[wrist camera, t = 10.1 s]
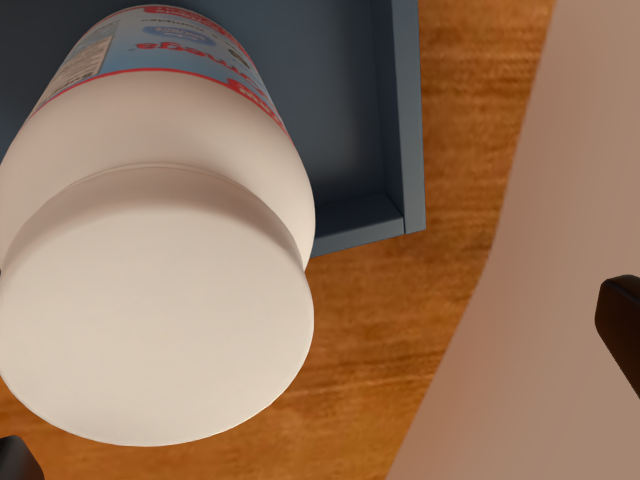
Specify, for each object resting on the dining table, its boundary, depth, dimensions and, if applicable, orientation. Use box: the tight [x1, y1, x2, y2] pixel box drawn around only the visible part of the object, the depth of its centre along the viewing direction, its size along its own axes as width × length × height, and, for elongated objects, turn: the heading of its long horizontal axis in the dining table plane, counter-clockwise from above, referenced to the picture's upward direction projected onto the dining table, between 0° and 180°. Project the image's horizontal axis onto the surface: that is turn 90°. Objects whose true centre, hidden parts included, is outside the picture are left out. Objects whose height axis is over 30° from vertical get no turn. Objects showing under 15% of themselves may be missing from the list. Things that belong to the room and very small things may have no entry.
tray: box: [0, 0, 426, 276], centre depth 17 cm, size 16×12×3 cm
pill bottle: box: [0, 4, 315, 446], centre depth 13 cm, size 6×6×11 cm
